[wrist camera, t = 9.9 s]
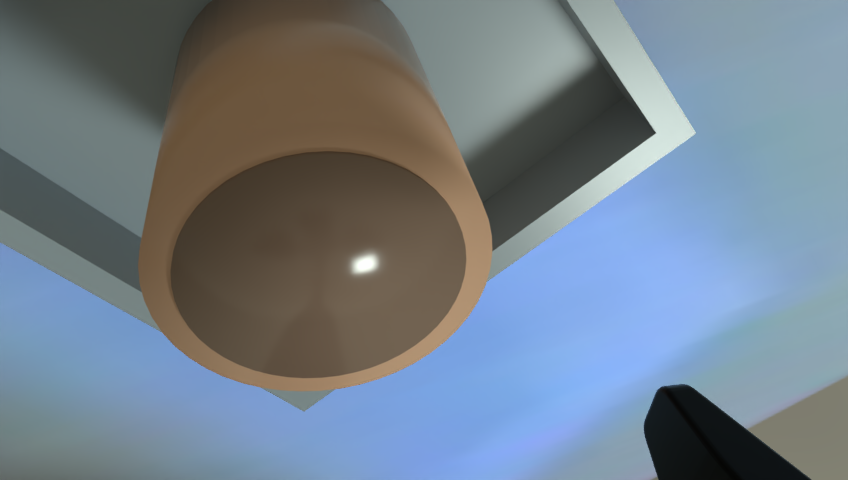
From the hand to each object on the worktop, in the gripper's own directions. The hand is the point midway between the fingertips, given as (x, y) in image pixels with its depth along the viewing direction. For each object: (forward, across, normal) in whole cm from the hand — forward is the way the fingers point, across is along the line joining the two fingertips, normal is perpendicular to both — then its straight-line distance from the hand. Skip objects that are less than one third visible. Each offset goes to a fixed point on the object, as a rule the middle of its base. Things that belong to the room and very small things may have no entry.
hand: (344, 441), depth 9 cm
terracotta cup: (+10, 0, 0) cm, 11 cm away
